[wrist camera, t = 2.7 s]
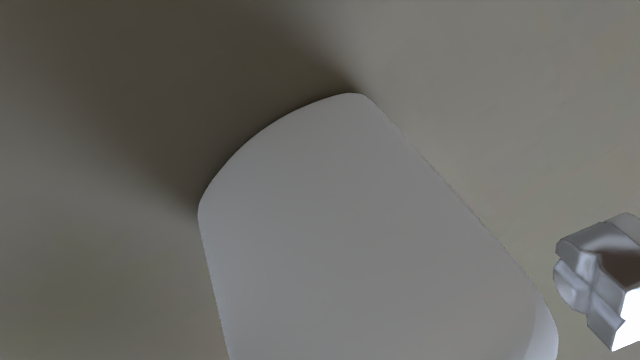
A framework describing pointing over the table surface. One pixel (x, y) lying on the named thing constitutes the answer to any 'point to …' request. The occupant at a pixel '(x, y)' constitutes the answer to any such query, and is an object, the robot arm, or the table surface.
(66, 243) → the table surface
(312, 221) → the eye dropper bottle
